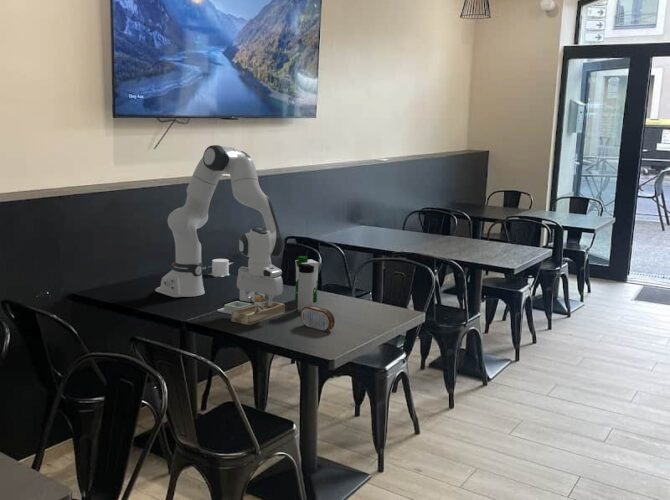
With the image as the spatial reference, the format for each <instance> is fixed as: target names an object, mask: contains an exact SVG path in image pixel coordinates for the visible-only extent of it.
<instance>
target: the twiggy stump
mask: <svg viewBox="0 0 670 500" xmlns="http://www.w3.org/2000/svg"><path fill="white" fill-rule="evenodd" d="M232 264H233V262H230V260H229V259H227V258H215V259H212V261H211V273H209V274H207V275H210V276H213V277H214V278H217V277H221V278H223V277H226V276H230V273H229V268H230V265H232Z"/></svg>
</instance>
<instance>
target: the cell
mask: <svg viewBox="0 0 670 500" xmlns="http://www.w3.org/2000/svg"><path fill="white" fill-rule="evenodd" d="M265 301H266V294H262V293H257V294H254V302H253V305H254V314H255V313H258V312H261V311H263V310H264V307H265Z"/></svg>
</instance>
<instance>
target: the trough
mask: <svg viewBox="0 0 670 500" xmlns="http://www.w3.org/2000/svg"><path fill="white" fill-rule="evenodd" d="M266 301H267V300H265V307H264V310H263V311H261V312H258V313H255V314H254V304H252V306H249V307H246V308H243V309H240V310H237V311H234V312H231V314H230V315H231V316H230V318H231V322H235V323H239V324H243V325H248V326H251V325H255V324H257V323H260V322H262V321H263V322H264V321H265V320H267V319H268V320H269V319H271V318H274V317H276V316H277V317H278V316H279V315H281V314H284V313H286V304H285V303H281V302H278V301H277V302H276V301H272V305H271V306H267V305H266Z"/></svg>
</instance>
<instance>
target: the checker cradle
mask: <svg viewBox="0 0 670 500" xmlns="http://www.w3.org/2000/svg"><path fill="white" fill-rule="evenodd" d="M252 305H253V303H251V302H246V301H240V300H235V301H232V302H229V303H226V304H224V305H223V306H224V307H222V308H219V309H217V310H216V312H219V313H224V314H229V315H231V312H234V311H237V310H240V309H243V308H246V307H249V306H252Z"/></svg>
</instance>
